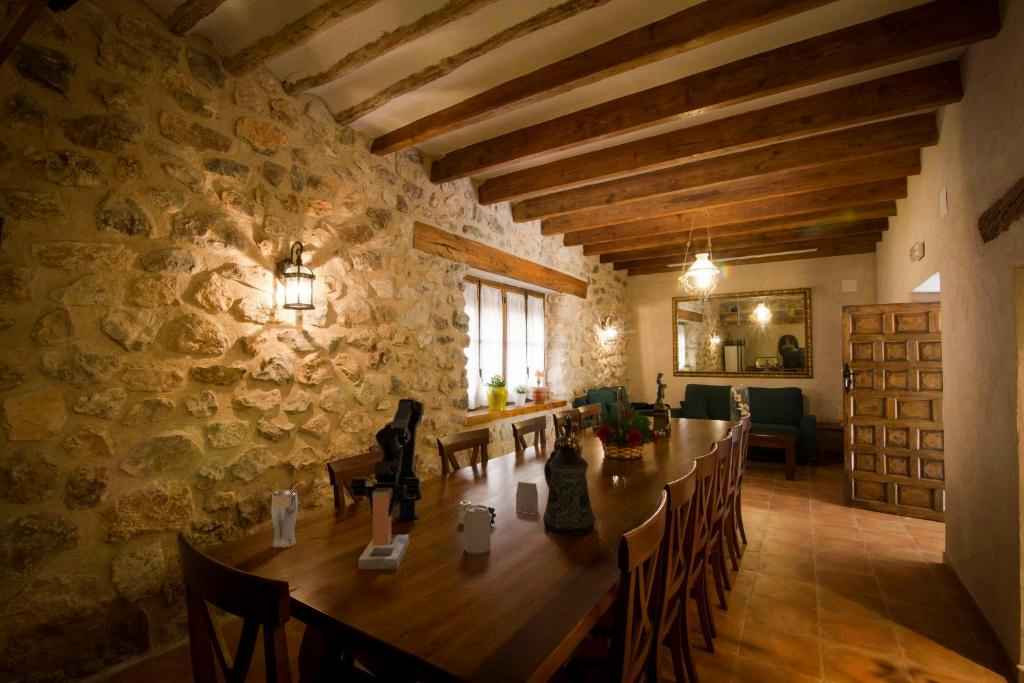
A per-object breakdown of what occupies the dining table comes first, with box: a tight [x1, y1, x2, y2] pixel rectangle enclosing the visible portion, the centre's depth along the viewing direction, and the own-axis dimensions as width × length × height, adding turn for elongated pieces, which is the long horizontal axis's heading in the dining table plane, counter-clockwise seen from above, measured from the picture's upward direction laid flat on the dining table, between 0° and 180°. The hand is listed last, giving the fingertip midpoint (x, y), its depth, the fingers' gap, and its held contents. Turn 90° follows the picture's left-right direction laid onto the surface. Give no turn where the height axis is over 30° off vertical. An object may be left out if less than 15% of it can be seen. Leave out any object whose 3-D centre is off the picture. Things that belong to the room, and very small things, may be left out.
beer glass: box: [271, 489, 299, 549], centre depth 141 cm, size 7×7×15 cm
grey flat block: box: [357, 534, 410, 570], centre depth 133 cm, size 16×10×3 cm, turn 1°
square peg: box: [372, 488, 392, 545], centre depth 130 cm, size 4×4×14 cm
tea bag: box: [515, 481, 539, 515], centre depth 169 cm, size 4×7×10 cm, turn 67°
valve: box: [458, 500, 497, 529], centre depth 157 cm, size 7×7×12 cm
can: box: [463, 504, 491, 556], centre depth 137 cm, size 8×8×12 cm
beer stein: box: [542, 446, 596, 538], centre depth 154 cm, size 16×19×25 cm
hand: (380, 515), depth 128 cm, fingers closed on square peg, 4 cm apart
